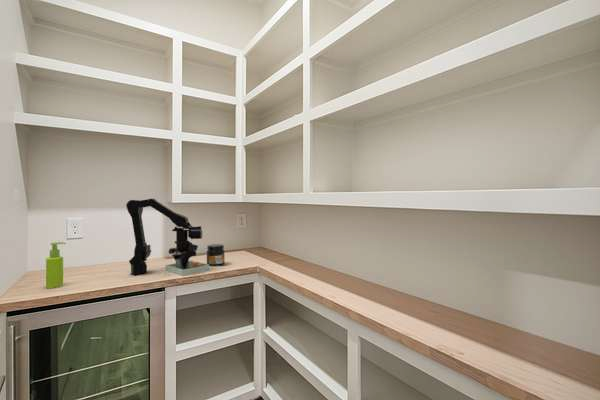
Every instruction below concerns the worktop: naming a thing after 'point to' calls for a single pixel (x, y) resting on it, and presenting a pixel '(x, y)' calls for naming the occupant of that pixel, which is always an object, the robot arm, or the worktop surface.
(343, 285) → the worktop surface
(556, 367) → the worktop surface
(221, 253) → the supplement container
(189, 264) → the connector
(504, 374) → the worktop surface
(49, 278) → the soap dispenser
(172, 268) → the bay
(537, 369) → the worktop surface
